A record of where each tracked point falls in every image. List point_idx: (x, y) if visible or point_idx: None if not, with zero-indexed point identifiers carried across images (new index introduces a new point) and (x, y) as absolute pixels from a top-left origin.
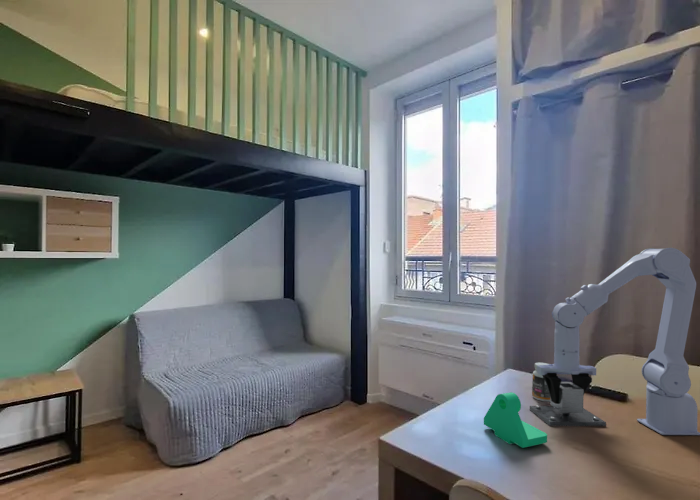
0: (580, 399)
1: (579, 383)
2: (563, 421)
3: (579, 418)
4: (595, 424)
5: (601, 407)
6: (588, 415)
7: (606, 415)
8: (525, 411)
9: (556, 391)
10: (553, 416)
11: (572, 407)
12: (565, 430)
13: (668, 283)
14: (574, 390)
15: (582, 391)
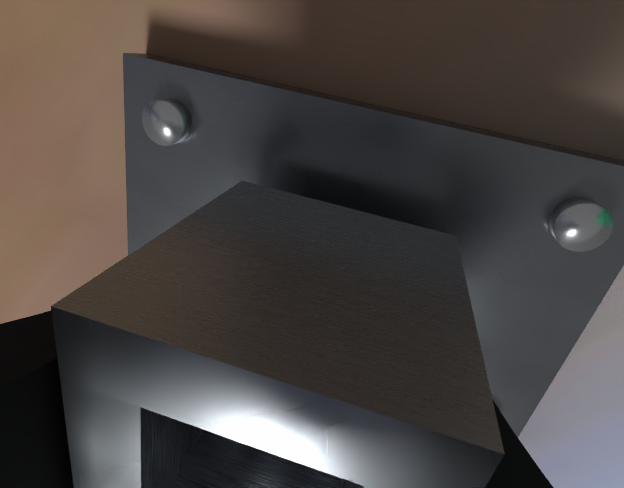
0: (207, 239)
1: (5, 459)
2: (512, 153)
3: (297, 171)
4: (220, 72)
5: (3, 305)
6: (177, 201)
7: (34, 211)
8: (563, 428)
9: (520, 466)
10: (500, 266)
11: (339, 227)
12: (590, 48)
13: None
14: (239, 347)
15: (104, 288)
